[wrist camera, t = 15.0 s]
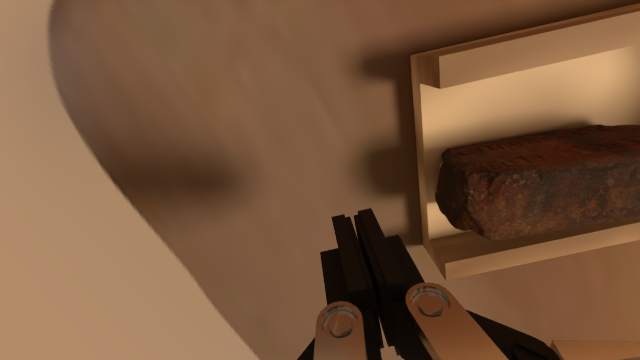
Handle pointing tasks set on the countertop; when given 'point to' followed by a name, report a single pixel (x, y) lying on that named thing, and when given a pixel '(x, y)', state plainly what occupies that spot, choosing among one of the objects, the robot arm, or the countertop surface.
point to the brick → (542, 181)
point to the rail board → (522, 120)
